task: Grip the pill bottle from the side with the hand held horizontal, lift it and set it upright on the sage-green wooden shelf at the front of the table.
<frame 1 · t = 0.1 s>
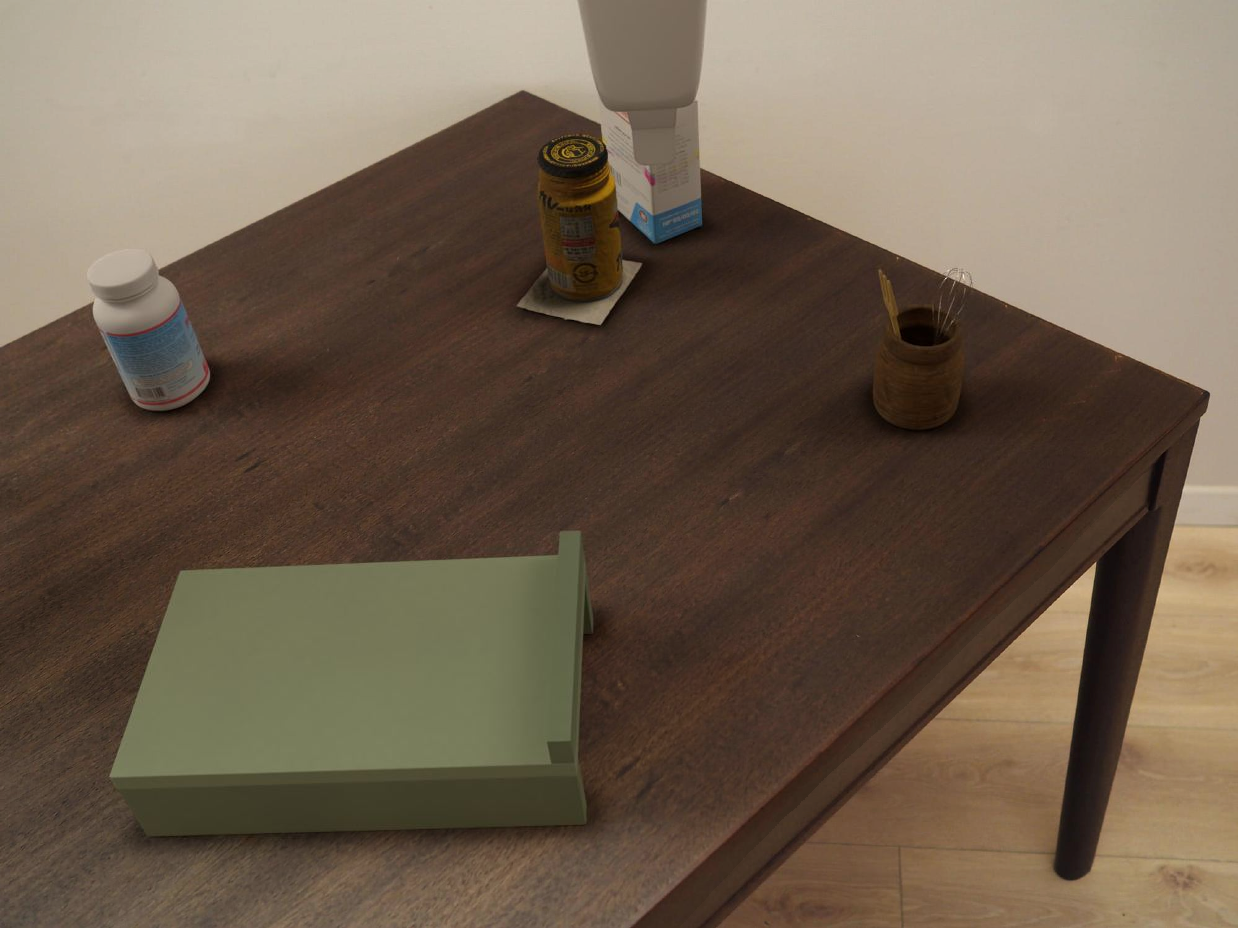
hand: (655, 101, 57), 32 cm above the table, tool pointing down, fingers open, 8 cm apart
condiment: (580, 289, 102), on the table
pill bottle: (172, 389, 97), on the table
utensil holder: (912, 407, 89), on the table
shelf: (383, 721, 73), on the table
ink box: (654, 215, 109), on the table
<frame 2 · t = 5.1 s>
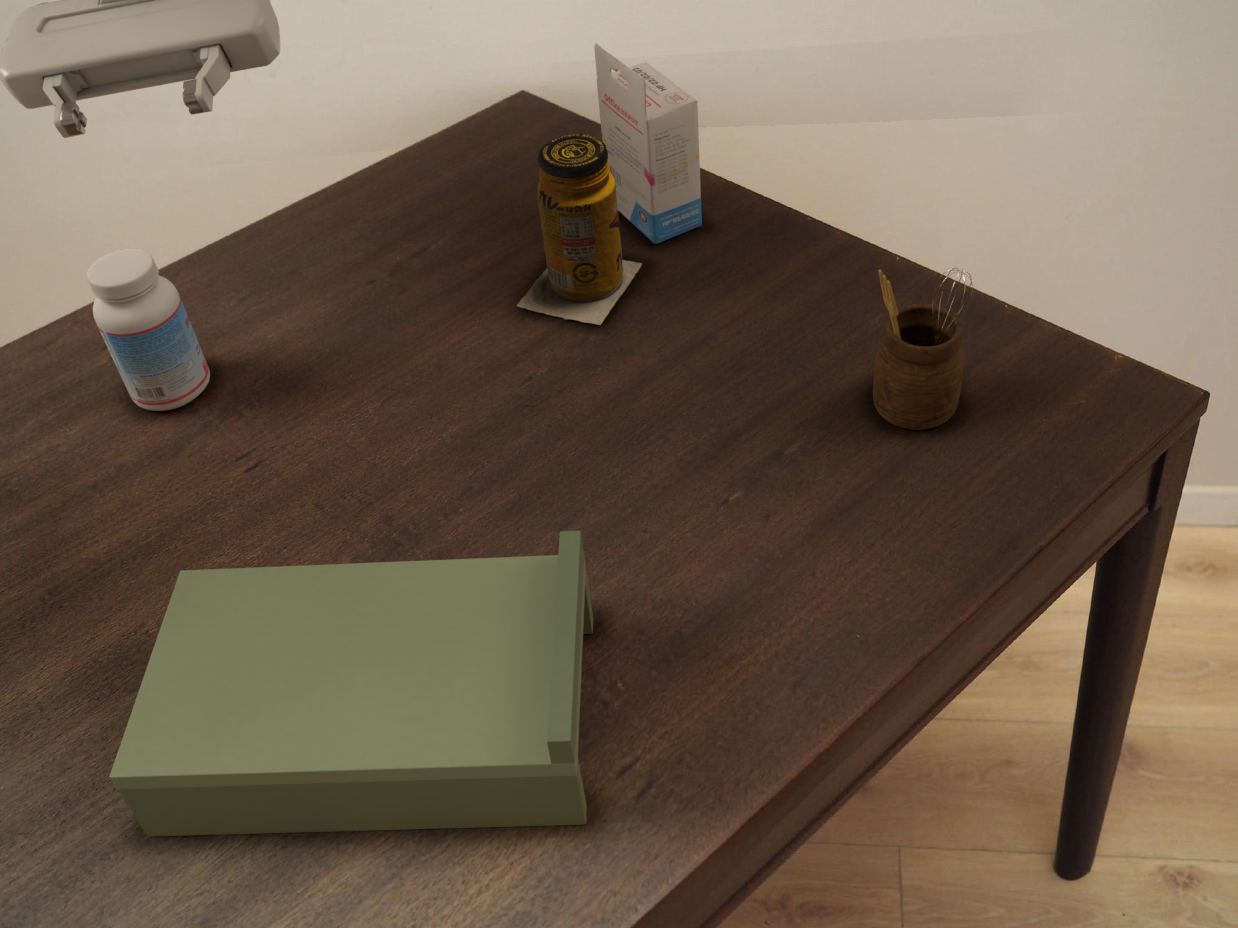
hand: (132, 118, 90), 18 cm above the table, tool tilted 75°, fingers open, 8 cm apart
nothing on the table moved.
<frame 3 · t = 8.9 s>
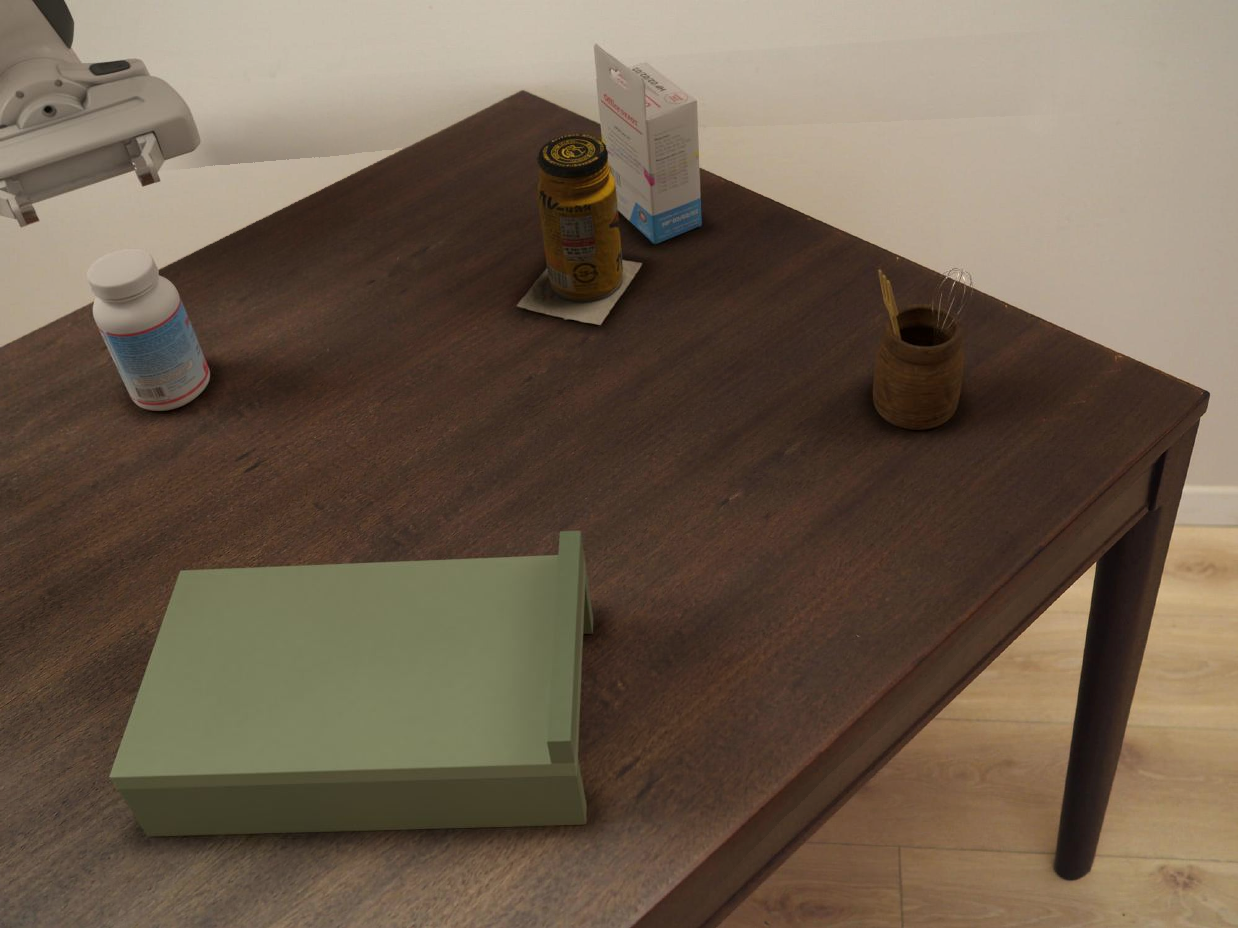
hand: (88, 196, 97), 11 cm above the table, tool horizontal, fingers open, 8 cm apart
nothing on the table moved.
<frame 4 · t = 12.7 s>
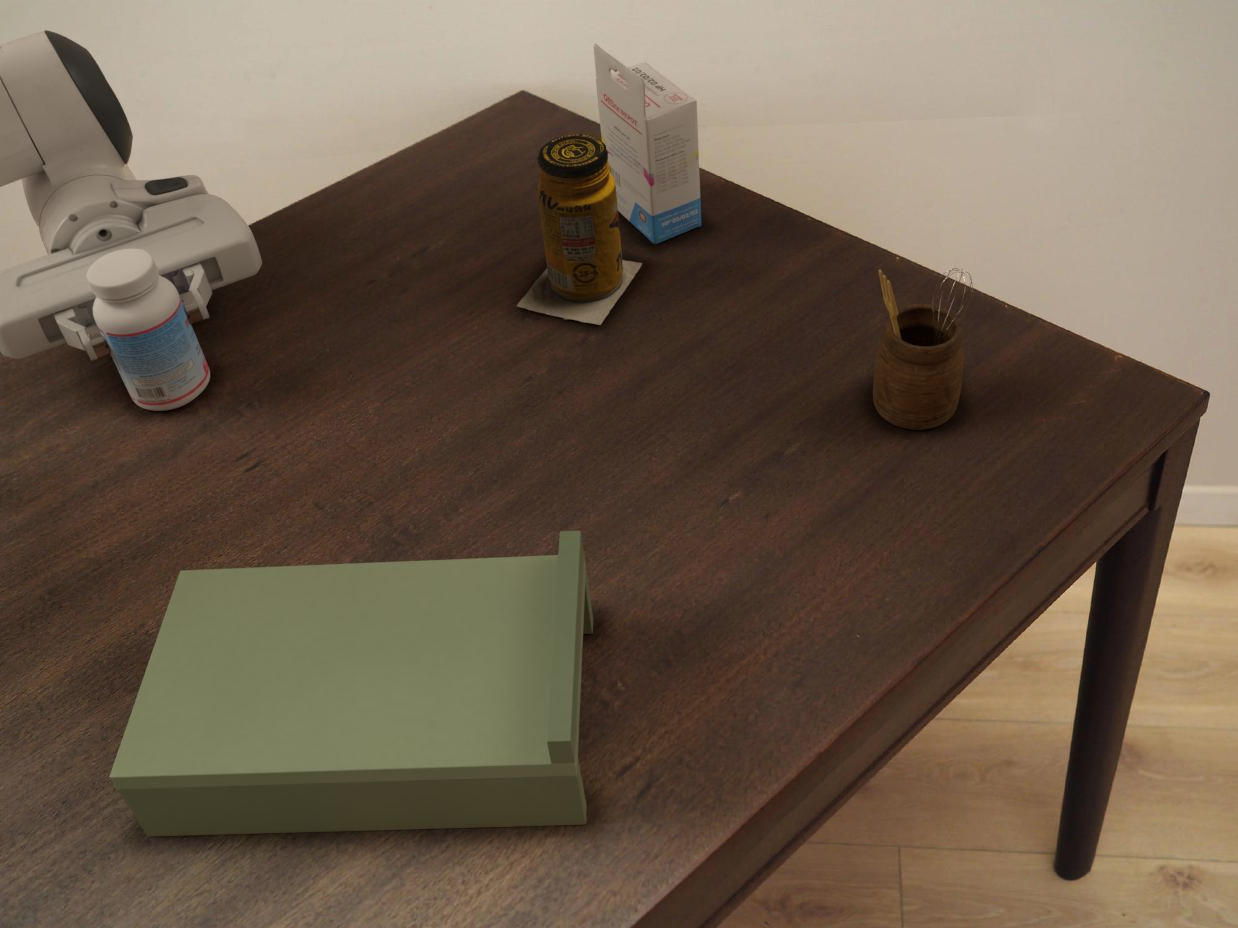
hand: (148, 331, 92), 6 cm above the table, tool horizontal, fingers closed on pill bottle, 6 cm apart
pill bottle: (172, 389, 97), on the table, touching gripper
everything else where it was.
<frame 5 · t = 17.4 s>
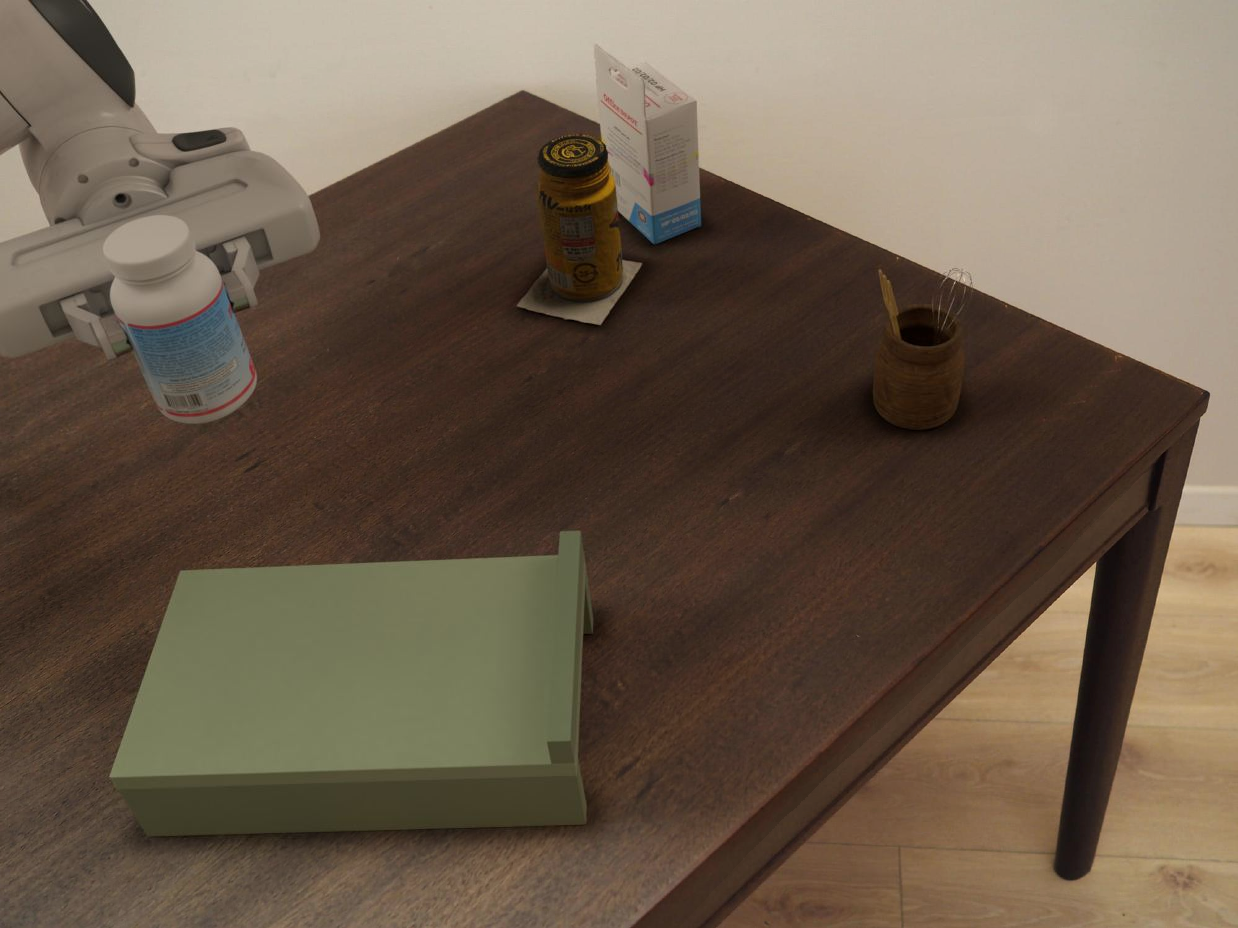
hand: (181, 322, 72), 18 cm above the table, tool horizontal, fingers closed on pill bottle, 6 cm apart
pill bottle: (209, 396, 77), point 12 cm above the table, touching gripper
everything else where it was.
when the fingers open (12 cm above the table, at t = 22.5 s): pill bottle stays where it is, resting on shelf.
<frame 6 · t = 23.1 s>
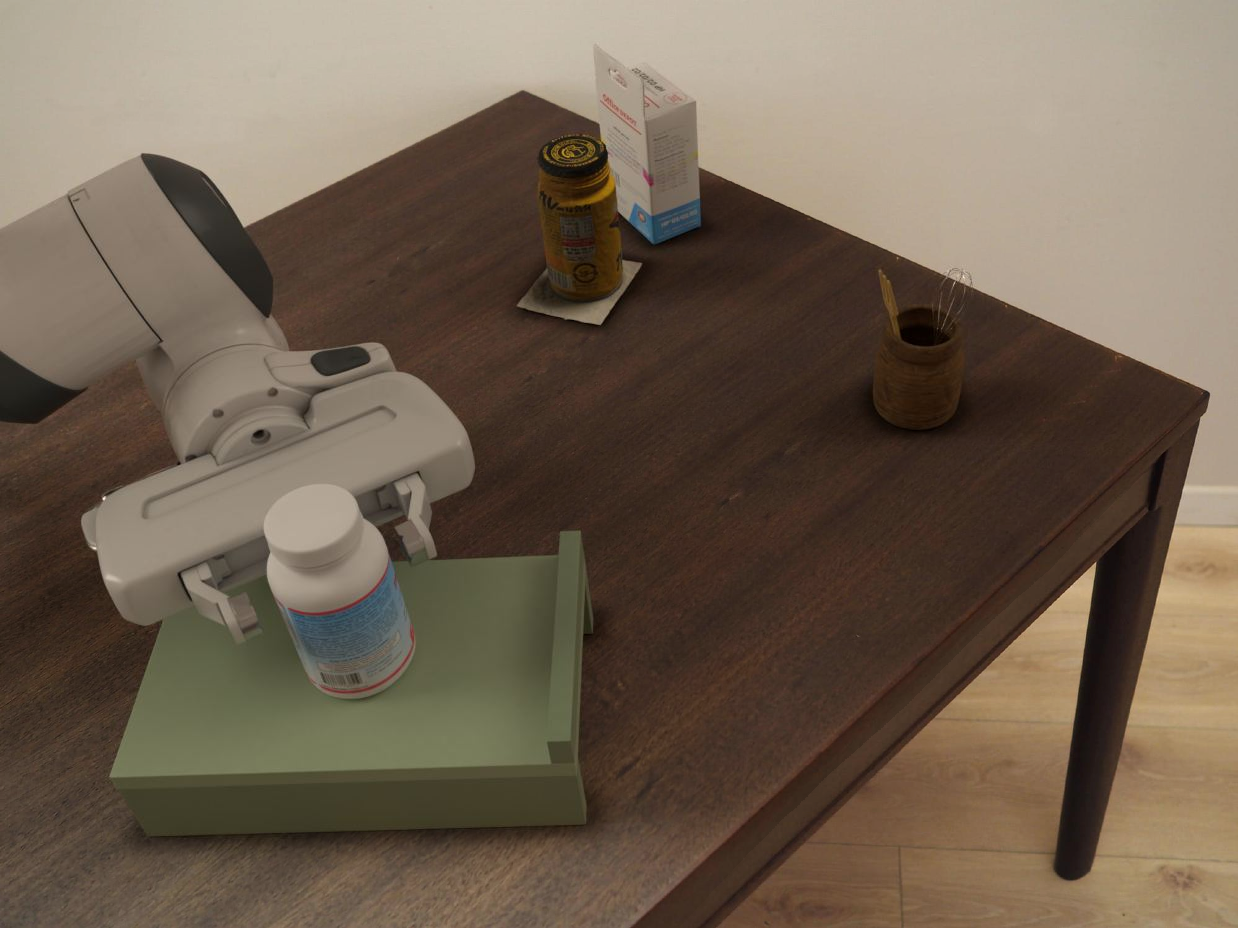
hand: (337, 592, 64), 13 cm above the table, tool horizontal, fingers open, 8 cm apart
pill bottle: (362, 659, 69), point 6 cm above the table, touching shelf
everything else where it was.
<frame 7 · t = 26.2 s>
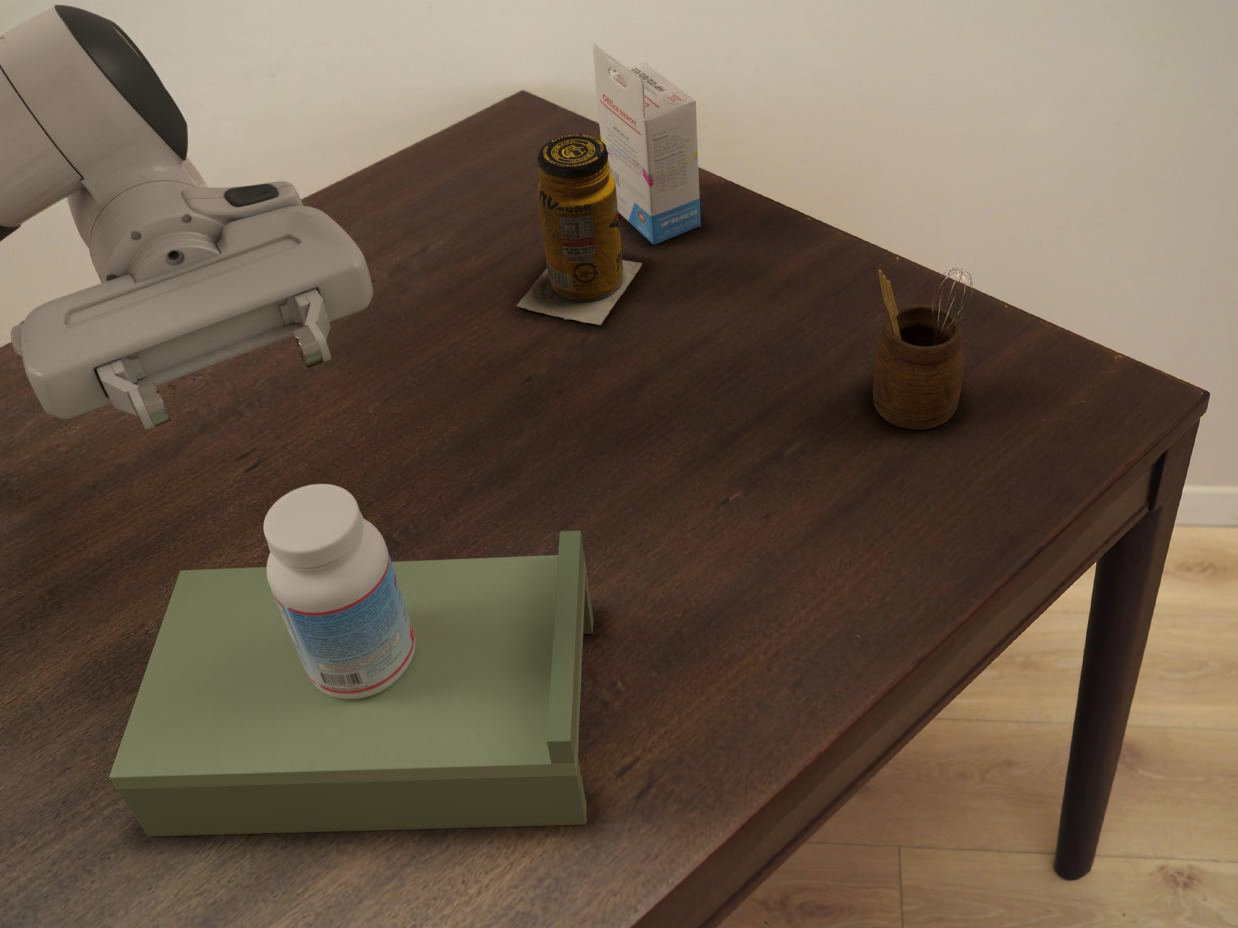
hand: (237, 385, 71), 16 cm above the table, tool horizontal, fingers open, 8 cm apart
nothing on the table moved.
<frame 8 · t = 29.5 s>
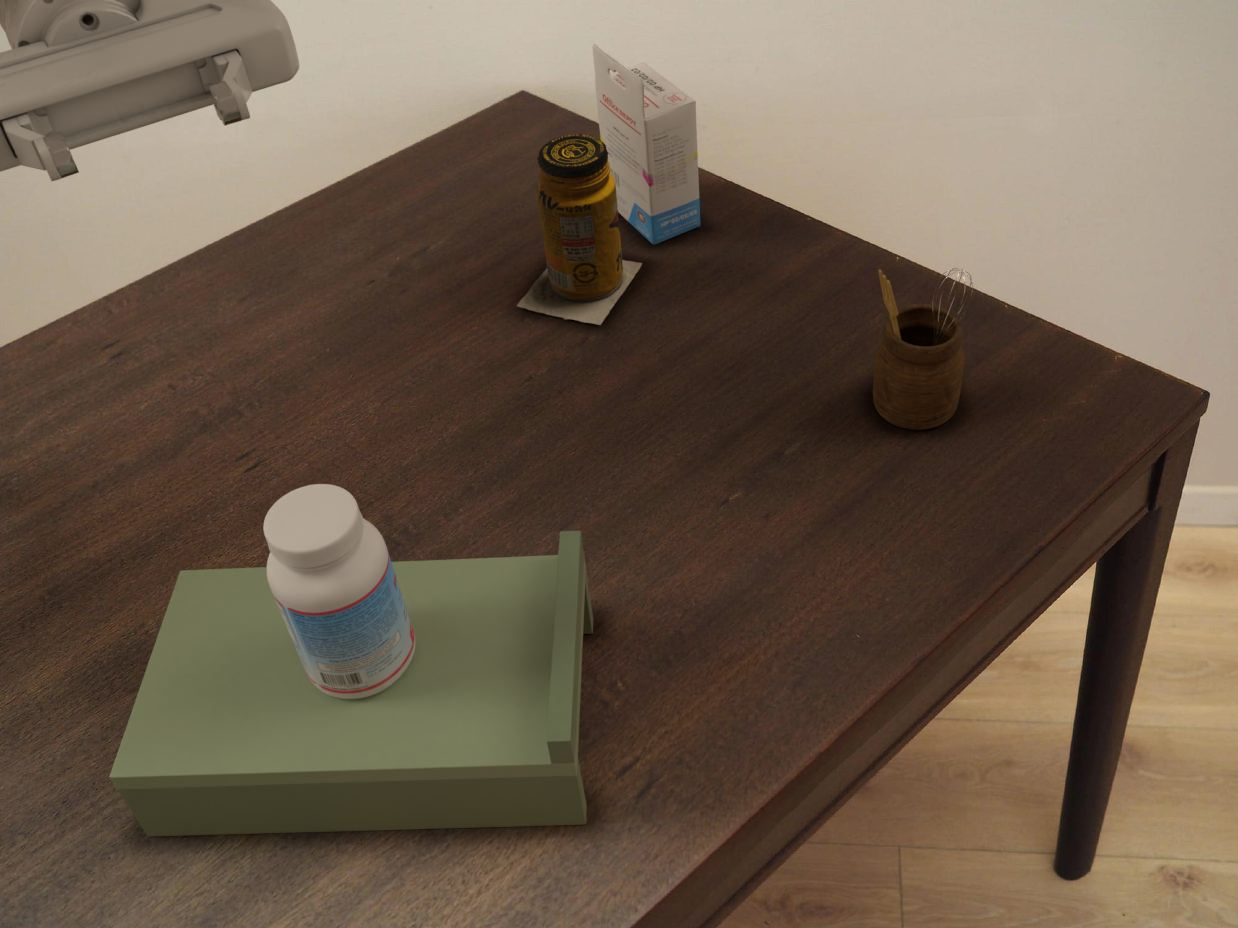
hand: (149, 137, 68), 28 cm above the table, tool horizontal, fingers open, 8 cm apart
nothing on the table moved.
at the end: pill bottle inside the target area on the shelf (0.1 cm from its centre), point 5.8 cm above the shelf's base; pill bottle tilted 0°; the gripper is holding nothing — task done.
